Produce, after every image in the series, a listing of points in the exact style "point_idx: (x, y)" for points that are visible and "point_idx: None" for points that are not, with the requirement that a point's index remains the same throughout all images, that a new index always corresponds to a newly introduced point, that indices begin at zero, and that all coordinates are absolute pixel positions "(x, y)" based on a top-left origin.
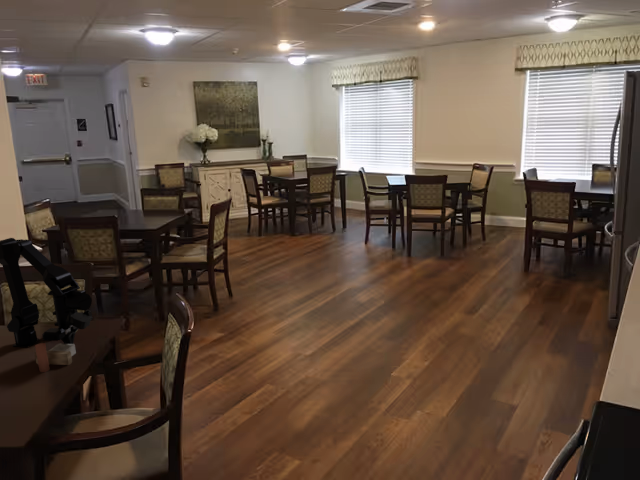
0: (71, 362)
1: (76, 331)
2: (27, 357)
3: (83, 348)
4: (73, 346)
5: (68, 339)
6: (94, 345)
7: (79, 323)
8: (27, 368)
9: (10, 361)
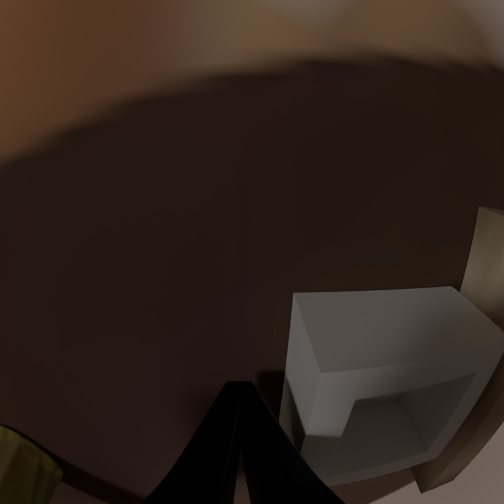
0: (489, 208)
1: (6, 429)
2: (334, 491)
3: (161, 279)
4: (348, 352)
5: (318, 486)
6: (71, 194)
7: None
8: None
9: (363, 501)
